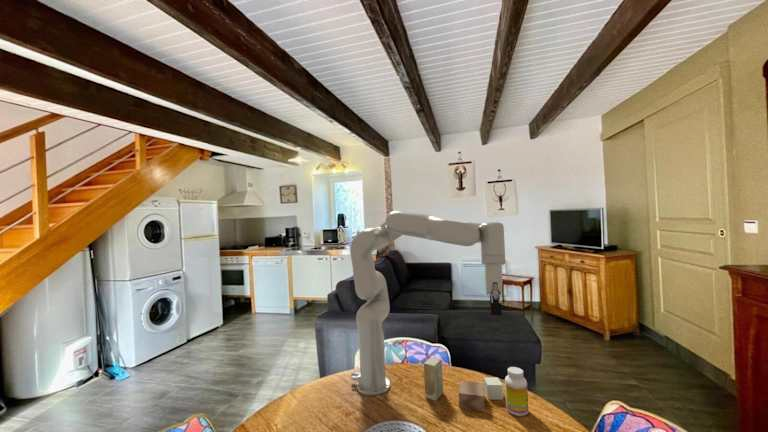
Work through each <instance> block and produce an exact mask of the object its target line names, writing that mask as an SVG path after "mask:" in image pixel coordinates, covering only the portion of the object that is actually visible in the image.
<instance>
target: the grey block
mask: <svg viewBox="0 0 768 432" xmlns="http://www.w3.org/2000/svg"><path fill="white" fill-rule="evenodd" d="M483 383H484V395H486V397H487V400H492V401H493V400H504V389H503V385H504V384H503V383H502V382H501V380H500V378H499V377H498V376H497V377H494V376H493V377H483Z"/></svg>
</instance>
